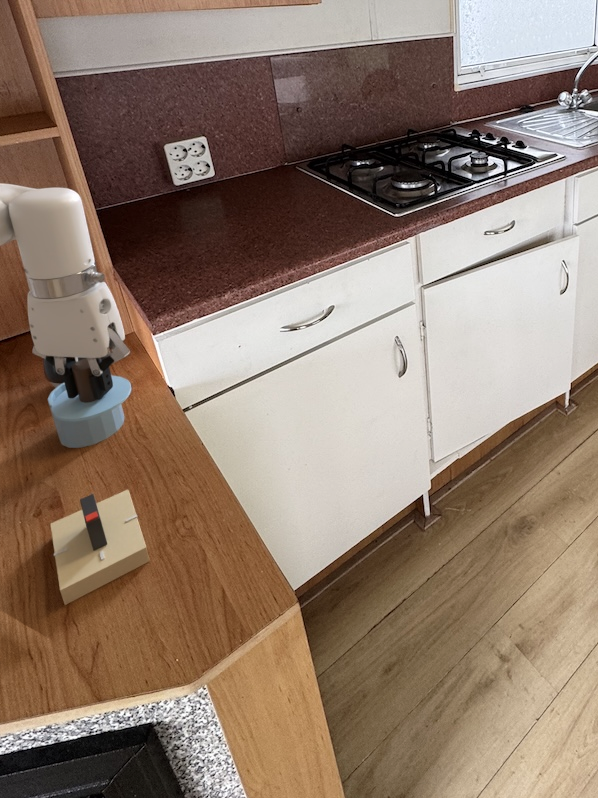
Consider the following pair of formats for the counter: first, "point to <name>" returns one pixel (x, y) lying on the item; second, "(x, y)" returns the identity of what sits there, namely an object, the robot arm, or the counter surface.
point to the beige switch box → (105, 564)
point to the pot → (86, 425)
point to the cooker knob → (93, 522)
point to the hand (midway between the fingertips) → (91, 391)
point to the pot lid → (89, 396)
